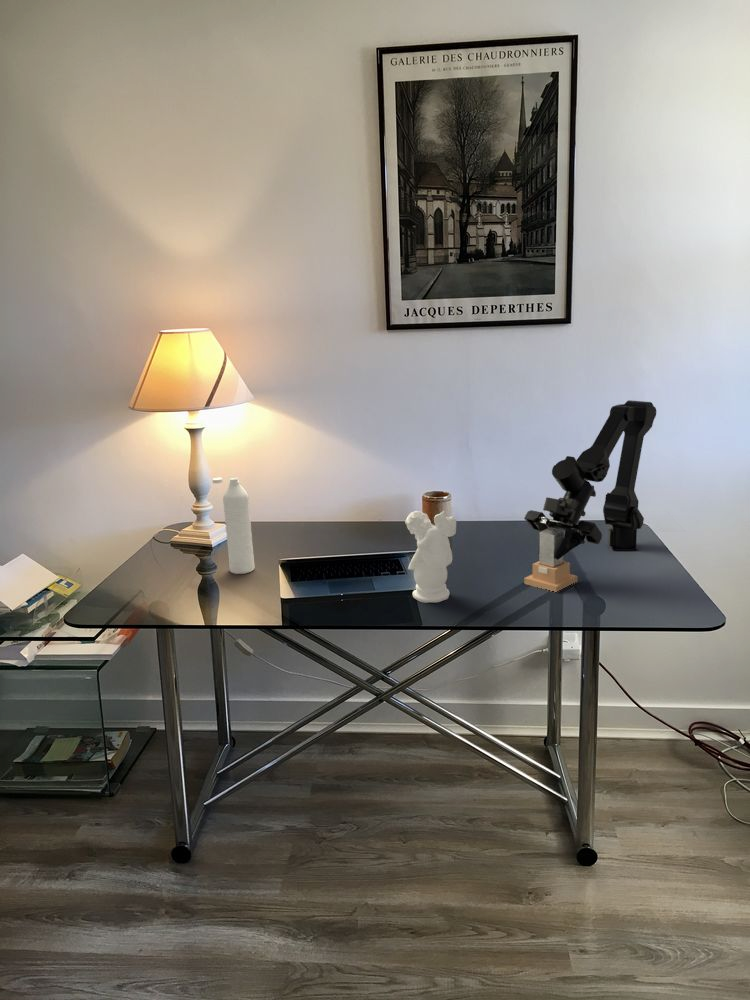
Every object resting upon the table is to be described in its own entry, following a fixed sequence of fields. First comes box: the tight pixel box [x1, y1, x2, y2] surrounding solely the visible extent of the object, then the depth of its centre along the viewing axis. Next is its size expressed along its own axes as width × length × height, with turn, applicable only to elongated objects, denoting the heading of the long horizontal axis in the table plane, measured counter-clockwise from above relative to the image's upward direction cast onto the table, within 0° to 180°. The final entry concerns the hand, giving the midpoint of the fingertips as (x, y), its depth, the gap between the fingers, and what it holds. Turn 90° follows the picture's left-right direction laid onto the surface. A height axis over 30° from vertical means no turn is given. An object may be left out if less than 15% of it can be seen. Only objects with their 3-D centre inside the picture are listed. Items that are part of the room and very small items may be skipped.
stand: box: [523, 560, 579, 593], centre depth 190 cm, size 9×9×5 cm
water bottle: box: [212, 477, 256, 575], centre depth 206 cm, size 9×6×25 cm
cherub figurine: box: [404, 510, 457, 604], centre depth 184 cm, size 12×12×22 cm
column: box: [538, 528, 565, 568], centre depth 189 cm, size 4×4×11 cm
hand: (548, 556), depth 188 cm, fingers open, 4 cm apart
